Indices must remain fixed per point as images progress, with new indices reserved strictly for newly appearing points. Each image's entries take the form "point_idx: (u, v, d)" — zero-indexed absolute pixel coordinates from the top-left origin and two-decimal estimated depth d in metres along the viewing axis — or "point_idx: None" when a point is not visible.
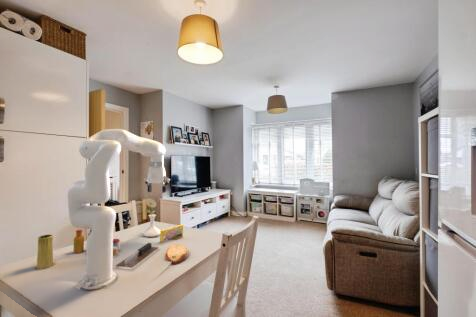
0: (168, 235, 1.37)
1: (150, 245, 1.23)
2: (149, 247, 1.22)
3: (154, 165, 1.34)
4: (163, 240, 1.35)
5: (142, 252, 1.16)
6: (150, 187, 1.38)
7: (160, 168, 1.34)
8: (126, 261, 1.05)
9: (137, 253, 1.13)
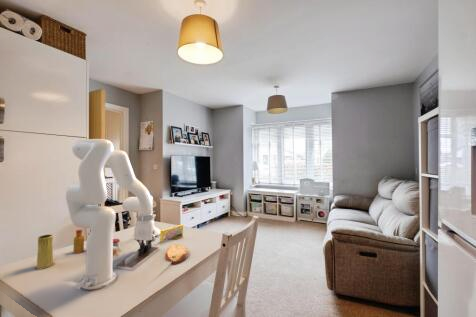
0: (168, 235, 1.37)
1: (150, 245, 1.23)
2: None
3: (141, 220, 1.16)
4: (163, 240, 1.35)
5: (142, 252, 1.16)
6: None
7: (148, 223, 1.17)
8: (126, 261, 1.05)
9: (137, 253, 1.13)
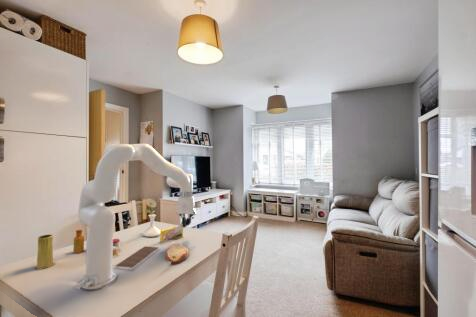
0: (168, 235, 1.37)
1: None
2: None
3: (184, 195, 1.29)
4: (163, 240, 1.35)
5: (185, 224, 1.29)
6: (184, 219, 1.33)
7: (190, 198, 1.30)
8: (175, 230, 1.18)
9: (182, 225, 1.26)
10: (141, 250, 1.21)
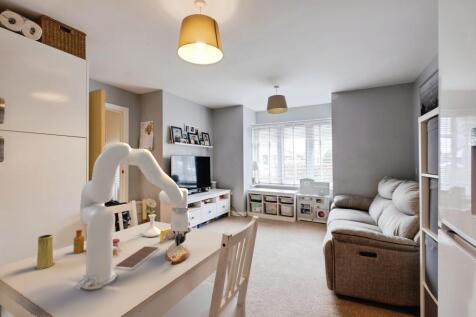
0: (168, 235, 1.37)
1: None
2: None
3: (178, 212, 1.21)
4: (163, 240, 1.35)
5: (179, 243, 1.21)
6: None
7: (185, 215, 1.22)
8: (167, 250, 1.10)
9: (175, 243, 1.18)
10: (141, 250, 1.21)
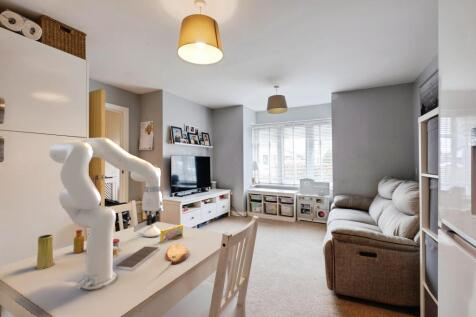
0: (168, 235, 1.37)
1: (157, 217, 1.25)
2: None
3: (149, 190, 1.18)
4: (163, 240, 1.35)
5: (150, 222, 1.18)
6: (150, 217, 1.22)
7: (156, 194, 1.19)
8: (135, 228, 1.07)
9: (145, 222, 1.15)
10: (141, 250, 1.21)
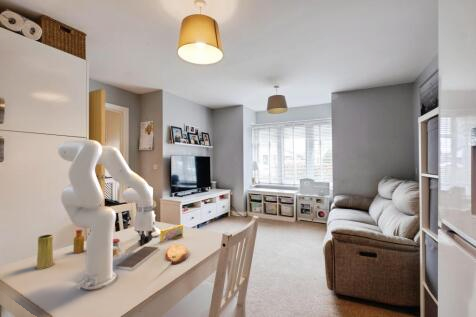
0: (168, 235, 1.37)
1: (150, 236, 1.24)
2: (150, 238, 1.23)
3: (141, 211, 1.16)
4: (163, 240, 1.35)
5: (143, 243, 1.16)
6: None
7: (148, 214, 1.17)
8: (127, 251, 1.05)
9: (138, 244, 1.13)
10: (141, 250, 1.21)
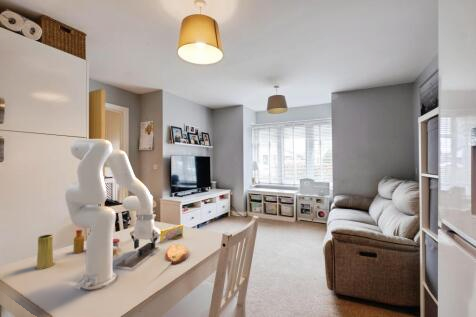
0: (168, 235, 1.37)
1: (150, 245, 1.24)
2: (149, 247, 1.23)
3: (141, 219, 1.16)
4: (163, 240, 1.35)
5: (142, 252, 1.16)
6: (137, 242, 1.20)
7: (148, 222, 1.17)
8: (127, 261, 1.05)
9: (137, 253, 1.13)
10: None
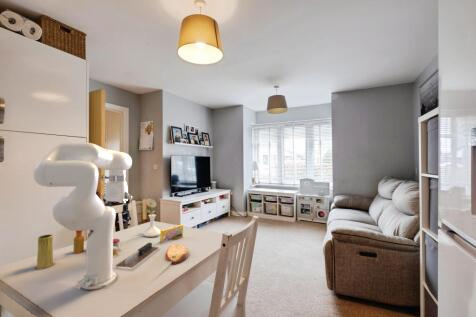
0: (168, 235, 1.37)
1: (150, 245, 1.24)
2: (149, 247, 1.23)
3: (112, 180, 1.10)
4: (163, 240, 1.35)
5: (142, 252, 1.16)
6: (109, 206, 1.15)
7: (120, 183, 1.11)
8: (127, 261, 1.05)
9: (137, 253, 1.13)
10: None
